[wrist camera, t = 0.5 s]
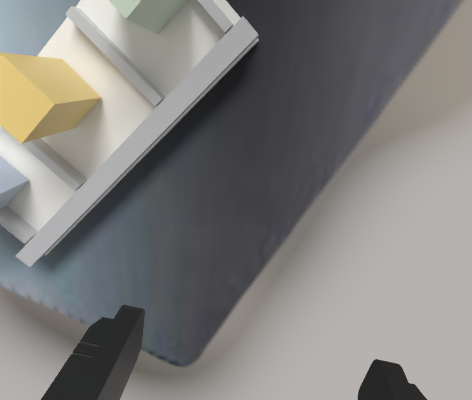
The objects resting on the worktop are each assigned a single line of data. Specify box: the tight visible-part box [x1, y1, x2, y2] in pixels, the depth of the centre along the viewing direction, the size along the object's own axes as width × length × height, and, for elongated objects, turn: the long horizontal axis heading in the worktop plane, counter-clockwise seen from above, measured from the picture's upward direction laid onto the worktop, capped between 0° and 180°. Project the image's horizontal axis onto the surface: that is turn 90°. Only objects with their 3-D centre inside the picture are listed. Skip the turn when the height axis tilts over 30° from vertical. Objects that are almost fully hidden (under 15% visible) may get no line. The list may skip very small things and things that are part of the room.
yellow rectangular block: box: [0, 53, 102, 144], centre depth 30 cm, size 5×4×9 cm
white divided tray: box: [0, 0, 259, 267], centre depth 34 cm, size 14×35×4 cm, turn 133°
